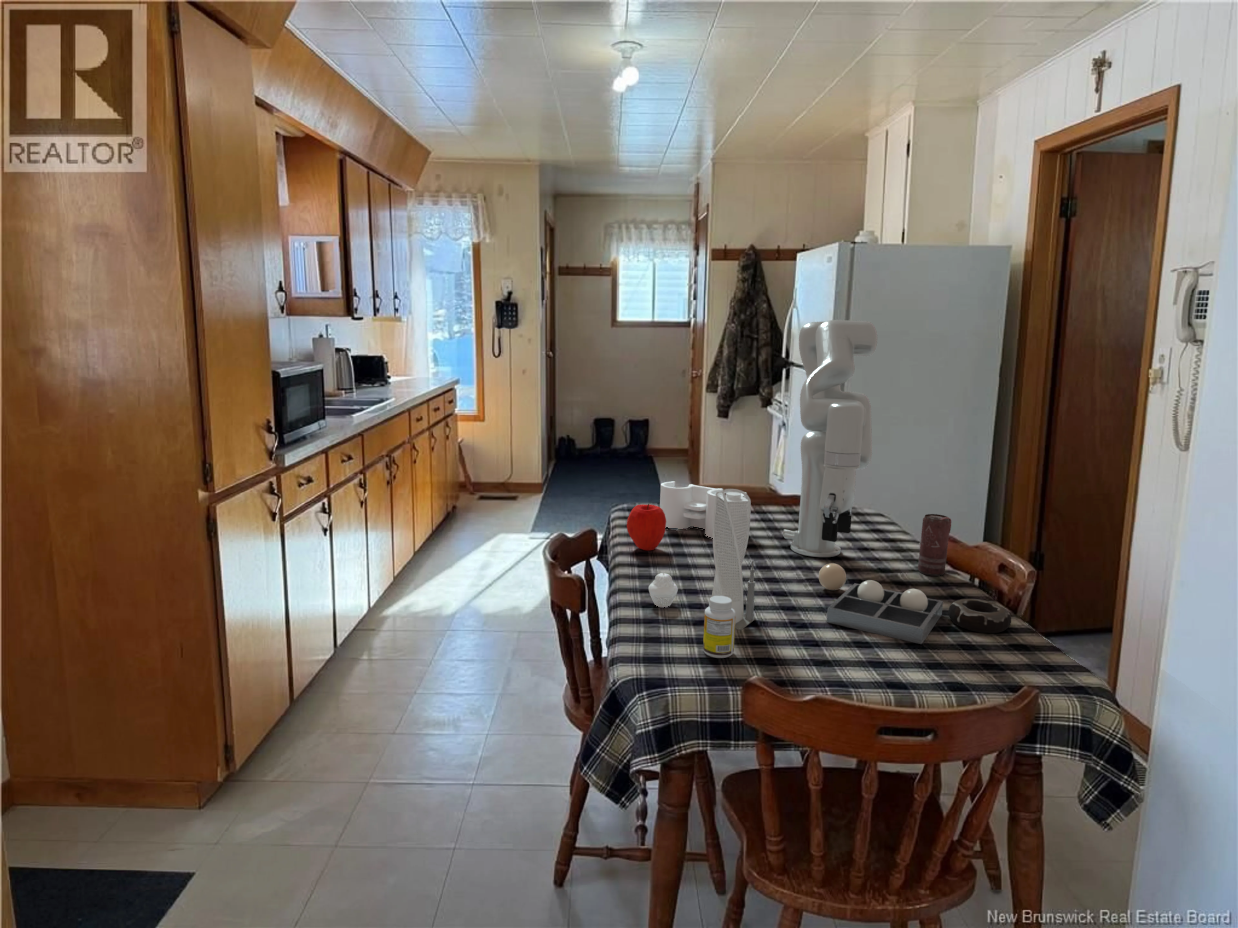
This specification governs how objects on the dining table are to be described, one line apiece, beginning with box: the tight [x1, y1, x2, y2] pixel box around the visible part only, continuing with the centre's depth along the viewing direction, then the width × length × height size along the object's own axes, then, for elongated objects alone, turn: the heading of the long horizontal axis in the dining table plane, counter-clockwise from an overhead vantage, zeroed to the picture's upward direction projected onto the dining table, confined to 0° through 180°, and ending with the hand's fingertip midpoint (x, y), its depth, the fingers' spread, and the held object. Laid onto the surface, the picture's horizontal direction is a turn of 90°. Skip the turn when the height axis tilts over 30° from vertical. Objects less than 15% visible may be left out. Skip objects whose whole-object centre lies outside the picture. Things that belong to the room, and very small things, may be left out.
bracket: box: [659, 480, 748, 539], centre depth 226 cm, size 25×10×12 cm, turn 57°
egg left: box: [857, 579, 884, 602], centre depth 171 cm, size 5×5×5 cm
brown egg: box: [818, 562, 847, 591], centre depth 181 cm, size 6×6×6 cm
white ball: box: [900, 588, 928, 612], centre depth 166 cm, size 5×5×5 cm
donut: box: [947, 598, 1012, 634], centre depth 163 cm, size 12×12×4 cm
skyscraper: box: [711, 488, 756, 631], centre depth 159 cm, size 8×8×28 cm
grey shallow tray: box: [826, 582, 944, 645], centre depth 165 cm, size 18×18×3 cm
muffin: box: [648, 572, 679, 608], centre depth 169 cm, size 6×6×7 cm
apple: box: [626, 503, 666, 551], centre depth 207 cm, size 10×10×12 cm
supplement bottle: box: [702, 596, 736, 659], centre depth 146 cm, size 6×6×10 cm
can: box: [917, 513, 952, 577], centre depth 194 cm, size 6×6×14 cm
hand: (836, 536), depth 179 cm, fingers open, 9 cm apart
